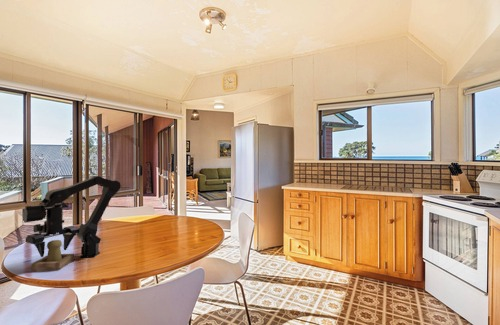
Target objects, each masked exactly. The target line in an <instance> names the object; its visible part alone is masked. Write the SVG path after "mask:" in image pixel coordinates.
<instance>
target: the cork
mask: <svg viewBox="0 0 500 325" xmlns="http://www.w3.org/2000/svg"><path fill="white" fill-rule="evenodd" d="M62 244H63V243H62V240H60V239H54V240H50V241H48V242H47V244H46V247H47V249H48V250H47V255H46V256H47V261H46V262H58V261H60V260H61V259H62V257H61V254H62V253H61V252H62V251H61V247H62Z"/></svg>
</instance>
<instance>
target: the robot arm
mask: <svg viewBox="0 0 500 325" xmlns="http://www.w3.org/2000/svg"><path fill="white" fill-rule="evenodd" d="M94 186H99V187H102V190H101V196H100V198H99V200H98V202H97V203H96V205H95V206H94V209H93V211H92V213H91V215H90V216H89V218H88V220H87V221H86V222H85V223H81V224H80V226H79V227H78V226H76V225H75V226H74V225H70V226H64V227H63V223H65V220H64V218H63V216H64V214H63V213H64V212H63V210H64V209H65V208H68V207H69V205H68V204H66V202H64V201H66V200H67V199H69V198H70V197H72V196H73V195H75V194H77V193H80V192H82V191H85V190H87V189H90V188H91V187H94ZM121 187H122V185H121V183H120V181H119V180H114V179H113V180H111V179H108V178H105V177H102V176H99V175H93V176H92V177H89V178H87V179H84V180H81V181H80V182H79V181H78V182H76V183H74V184H72V185H69V186H65V187H61V188H60V187H59V188H56V189H51V190H49V191H47V192H46V194H45V195H44V198H43V199H42V201H41V202H40V203H39V204H36V205H25V206H24V210H23V213H22V220H23V223H25V224H26V223H32V222H38V221H43V220H44V219H45V218H46V219H45V220H44V222H43V224H41V223H37V224H34V225H33V232H34V233H32V234H28V235H27V236H26V237H25V243H28V244H31V245H34V246H35V248H36V250H37V251H38V253H39V255H40V258H43V257H45V256H44V254H45V248H46V241H44V240H45V239H48V238H53V237H57V236H60V235H62V236H63V251H67V250H68V248H69V245H70V244H71V242H72V241H73V239H74V237H75V236H77V238H78V240H80V241H81V243H82V244H81V248H80V255H81V256H80V255H79V257H80V258H95V257H97V256H98V255H99V254H100V253H101V251H99V250H100V246H99V245H100V242H101V240H102V239H101V238H100V237H99V236H98V235H97V233H98V228H99V227H98V226H99V223H100V220H101V219H102V217H103V215H104V213H105V211H106V209H107V207H108V205H109V203H110V202H111V200H112V198H113V197H114V196H116V194H118V192H119V191H120V189H121Z"/></svg>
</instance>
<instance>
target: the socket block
mask: <svg viewBox="0 0 500 325" xmlns="http://www.w3.org/2000/svg"><path fill="white" fill-rule="evenodd" d="M61 257H62V259H61V260H60V261H58V262H46V261H47V255H45V256H43V257H40V259H38V260H36V261H34V262H32V263H31V265H30V271H31V272H40V271H42V272H43V271H60V270H61V269H63V268H64V267H66V266H68V265H69V264H70V263H72V262H74V261H75V253H61Z"/></svg>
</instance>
